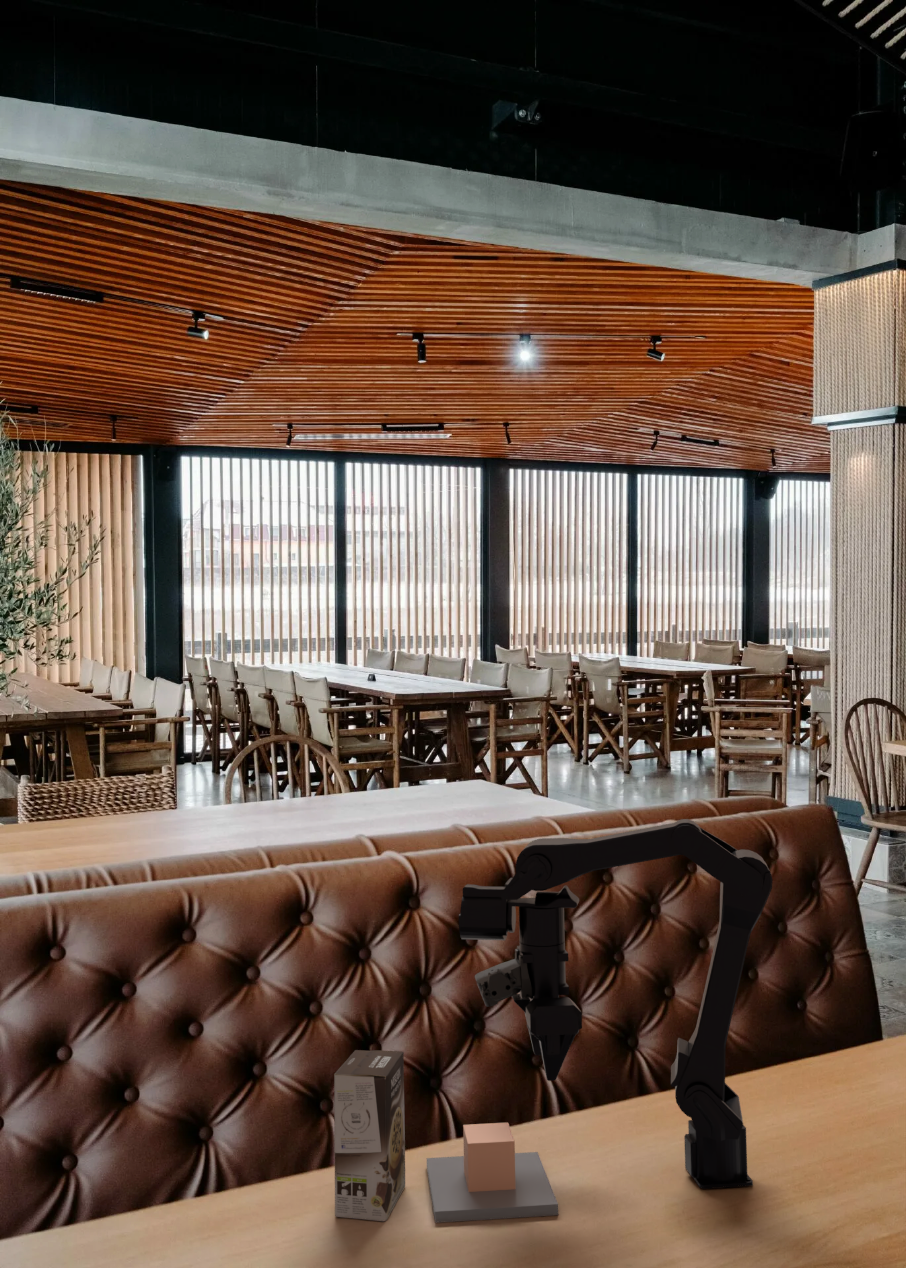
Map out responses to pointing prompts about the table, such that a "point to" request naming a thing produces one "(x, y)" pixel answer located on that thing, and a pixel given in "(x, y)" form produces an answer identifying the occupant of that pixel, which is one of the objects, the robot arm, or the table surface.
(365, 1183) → the coffee box
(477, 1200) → the slate board
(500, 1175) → the terracotta block
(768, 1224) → the table surface
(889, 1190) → the table surface
